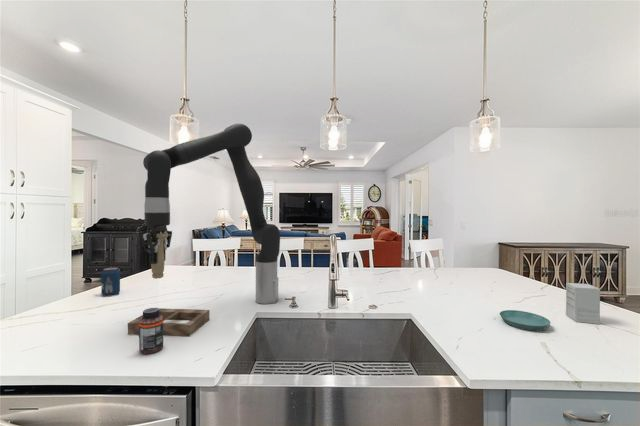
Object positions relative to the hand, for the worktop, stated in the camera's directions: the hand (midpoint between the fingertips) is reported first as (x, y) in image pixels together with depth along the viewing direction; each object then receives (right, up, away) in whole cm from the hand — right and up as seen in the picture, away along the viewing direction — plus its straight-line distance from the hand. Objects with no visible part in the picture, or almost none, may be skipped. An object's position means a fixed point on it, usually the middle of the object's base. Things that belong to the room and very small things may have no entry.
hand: (157, 262), depth 100 cm
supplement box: (+150, -23, +9) cm, 152 cm away
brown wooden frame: (+5, -22, 0) cm, 22 cm away
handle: (0, -5, 0) cm, 5 cm away
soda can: (-41, -21, +36) cm, 59 cm away
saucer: (+126, -23, +4) cm, 128 cm away
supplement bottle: (+7, -22, -17) cm, 29 cm away
